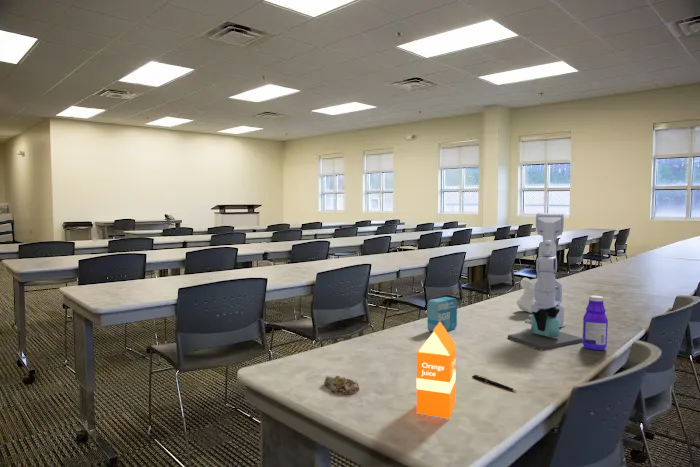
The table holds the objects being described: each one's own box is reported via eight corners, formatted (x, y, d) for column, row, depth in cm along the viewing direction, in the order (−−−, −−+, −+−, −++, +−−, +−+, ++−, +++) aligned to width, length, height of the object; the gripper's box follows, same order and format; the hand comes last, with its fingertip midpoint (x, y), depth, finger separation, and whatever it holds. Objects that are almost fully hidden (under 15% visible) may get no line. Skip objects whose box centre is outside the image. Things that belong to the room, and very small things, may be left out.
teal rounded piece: (529, 328, 172) (529, 312, 172) (561, 336, 162) (561, 318, 162) (522, 330, 170) (523, 313, 169) (554, 338, 160) (555, 320, 159)
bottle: (605, 346, 157) (606, 295, 156) (608, 352, 151) (610, 298, 150) (581, 344, 159) (582, 294, 158) (583, 349, 154) (584, 297, 153)
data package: (436, 334, 173) (436, 302, 172) (427, 331, 177) (427, 300, 176) (457, 328, 181) (457, 297, 180) (447, 326, 184) (447, 296, 183)
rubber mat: (547, 331, 176) (548, 328, 176) (583, 341, 162) (583, 338, 162) (507, 338, 167) (507, 335, 167) (541, 350, 154) (541, 346, 154)
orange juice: (415, 414, 108) (416, 328, 107) (424, 399, 116) (424, 319, 115) (450, 419, 105) (451, 332, 104) (456, 404, 113) (456, 322, 112)
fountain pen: (519, 393, 120) (520, 388, 120) (517, 395, 119) (517, 389, 119) (473, 377, 131) (473, 372, 131) (470, 378, 130) (470, 373, 130)
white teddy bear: (530, 309, 212) (531, 276, 211) (548, 314, 202) (549, 280, 201) (512, 310, 209) (513, 277, 208) (529, 316, 198) (530, 281, 198)
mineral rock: (367, 379, 124) (349, 380, 118) (365, 396, 123) (347, 398, 117) (336, 372, 130) (317, 372, 124) (334, 388, 130) (315, 389, 123)
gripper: (547, 287, 171) (546, 323, 172) (523, 291, 163) (522, 330, 164) (565, 289, 165) (565, 327, 166) (541, 294, 157) (540, 334, 158)
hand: (545, 329), depth 165 cm, fingers open, 4 cm apart
